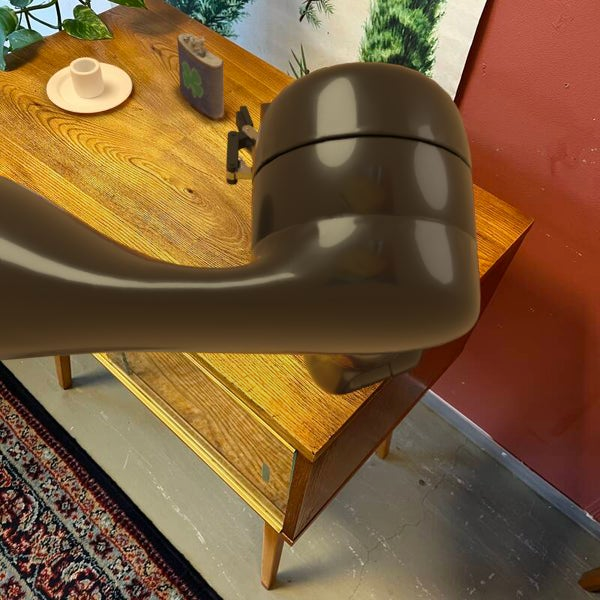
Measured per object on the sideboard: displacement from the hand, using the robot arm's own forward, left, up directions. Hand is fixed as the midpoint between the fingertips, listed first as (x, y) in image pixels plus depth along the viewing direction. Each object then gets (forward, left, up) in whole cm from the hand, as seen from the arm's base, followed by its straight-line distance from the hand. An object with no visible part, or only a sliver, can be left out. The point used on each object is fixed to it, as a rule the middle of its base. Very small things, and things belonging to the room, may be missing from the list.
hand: (264, 109), depth 77 cm
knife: (0, -3, -13) cm, 13 cm away
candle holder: (-19, +25, -13) cm, 34 cm away
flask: (-4, +19, -13) cm, 24 cm away
